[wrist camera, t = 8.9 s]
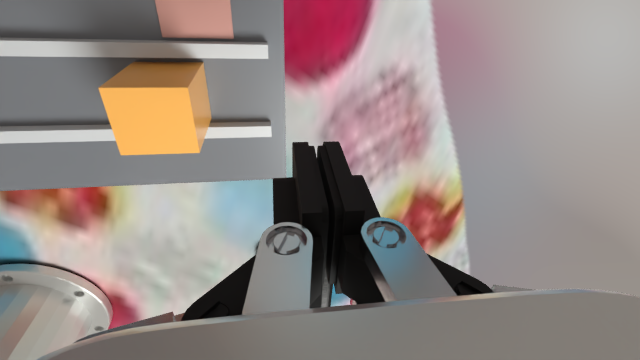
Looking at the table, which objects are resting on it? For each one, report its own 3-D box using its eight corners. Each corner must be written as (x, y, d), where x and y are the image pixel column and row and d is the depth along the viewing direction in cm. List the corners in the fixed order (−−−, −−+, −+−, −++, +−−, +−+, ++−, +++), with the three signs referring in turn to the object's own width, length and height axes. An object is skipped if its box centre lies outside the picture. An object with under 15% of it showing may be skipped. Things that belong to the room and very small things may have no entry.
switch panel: (284, 165, 27) (286, 184, 25) (-144, 181, 23) (-191, 205, 20) (281, -36, 19) (283, -36, 17) (-366, -69, 15) (-480, -76, 13)
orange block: (211, 117, 22) (199, 153, 18) (148, 118, 21) (120, 155, 17) (203, 62, 20) (187, 87, 16) (133, 61, 19) (98, 87, 15)
